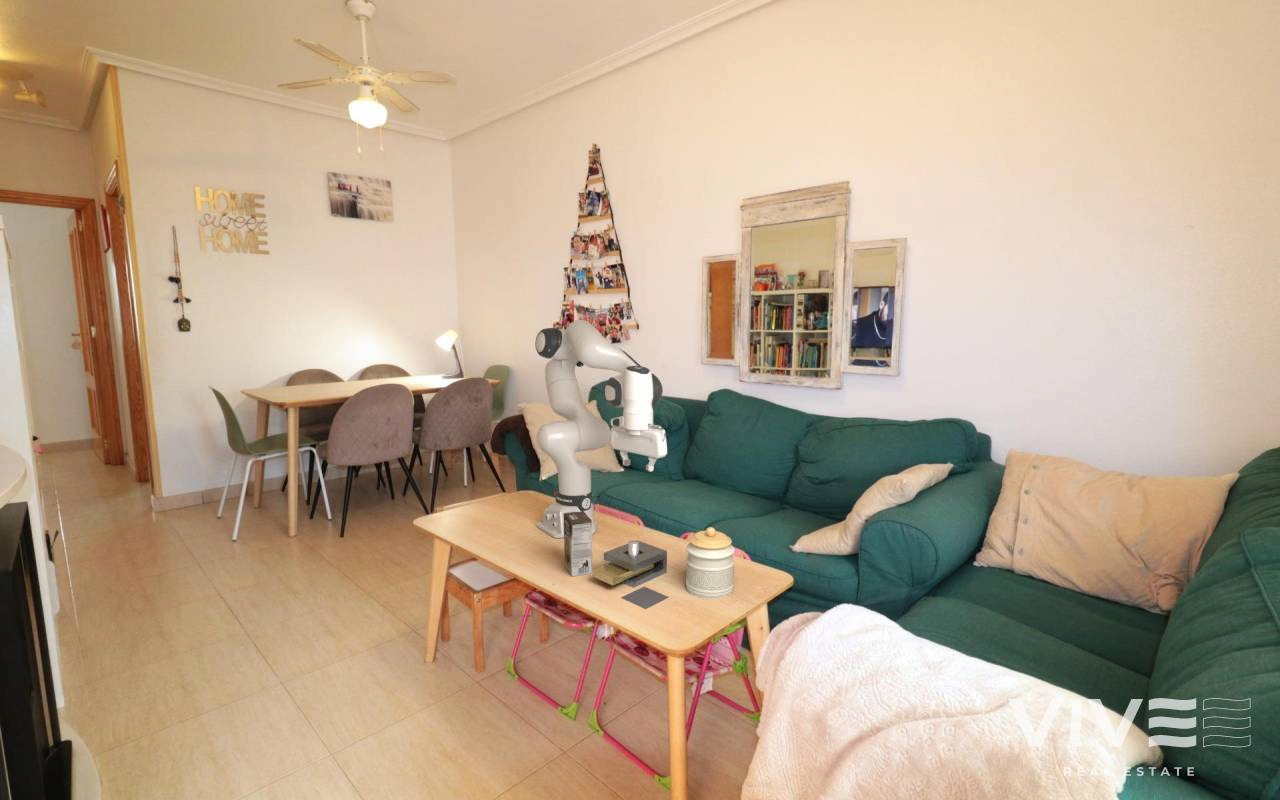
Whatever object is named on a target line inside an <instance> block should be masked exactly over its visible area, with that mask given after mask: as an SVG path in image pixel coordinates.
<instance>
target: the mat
mask: <svg viewBox="0 0 1280 800" xmlns="http://www.w3.org/2000/svg"><path fill="white" fill-rule="evenodd" d="M620 598H621V599H622V600H625V601H626V602H629V603H631V604H633V605H636V606H638V607H640V608H642V609H644V610H647V609H649V608H651V607H653V606H655V605H657V604H659V603H662V602H663V601H664V600H666V599H669V598H670V597H669V596H668V595H665V594H662V593H661V592H658V591H656V590H654V589H651V588H649V587H646V586H642V587H640V588H638V589H635V590H633V591H632V592H630V593H627V594H625V595H624V596H620Z"/></svg>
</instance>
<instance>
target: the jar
mask: <svg viewBox="0 0 1280 800" xmlns="http://www.w3.org/2000/svg"><path fill="white" fill-rule="evenodd" d="M732 543H733V541H732V538H731V537H729V536H728V535H726V534H725V533H723V532H720V531H718V530H716V529H715V528H714V527H712V526H709V527H707V528H706V529H705V530H700V531H697V532H696V533H695V534H693V535H691V536H690V537H689V543H687V544H686V546H685V549H686V552H687V557H686V559H685V562H686V579H685V587H686V590H687V592H688V594H690V595H692V596H695V597H697V598H700V599H703V600H704V599H705V600H720V599H719V598H721V599H724V598H723V597H725V598H727V597H729V596H731V595H732V594H733V592H734V588H735V582H734V581H735V580H734V574H735V573H734V572H735V569H734V567H735V558H734V557H733V555H734V554H735V550H736V549H735V547H734V545H732ZM732 591H733V592H732ZM731 593H732V594H731ZM730 594H731V595H730ZM728 595H729V596H728ZM726 596H727V597H726Z"/></svg>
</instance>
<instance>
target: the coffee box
mask: <svg viewBox="0 0 1280 800" xmlns="http://www.w3.org/2000/svg"><path fill="white" fill-rule="evenodd" d="M563 539H564V541H563V546H564V548H563V549H564V550H563V551H564V565H565V567H566V569H567V571H568V573H569V575H570V576H571V577H578V576H586V575H593V534H592V520H591V519H590V518H589V517H588V516H587V515H586V513H585V512H584V511H582V512H570V513H564V537H563Z"/></svg>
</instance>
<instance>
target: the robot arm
mask: <svg viewBox="0 0 1280 800" xmlns="http://www.w3.org/2000/svg"><path fill="white" fill-rule="evenodd" d="M534 342H535V344H534V345H535V350H536V352H537V354H538V356H540V357H542V358H545V359H549V360H548V362H547V363H546V365H545V369H544V379H545V385H546V386H545V387H546V391H547V396H548V399H549V404H550V405H549V406H550V408H551V410H552V411H553V412H554V413H555V415H557V416H561V417H563V418H564V419H566V420H557V421H551V422H548V423H544V424H542V425H540V427H539V428H538V430H537V433H536V443H537V446H538V448H539V449H540V450H541V452H543V453H544V454H546V455H547V456H548V457H549V458H550V459H551V460H552V461H553V463H554V465H555V468H556V470H557V478H558V491H554V492H553V493H554V495H553V496H556V497H555V500H554V501H553V502H552V503H551V504H550V505H549V506H547V507H546V508H545V509H544V511H543V517H542V518H543V519H541V520H539V521H538V522H537V523H536V527H537V528H539V529H540V530H542V531H543V532H545V533H546V534H548V535H549V536H551V537H552V538H554V539H560V538H563V539H564V513H570V512H582V511H584V512H585V513H586V515H587V516H588V517H589V518H590V519H591V520H592V535H593V534H595V533H596V532H597V526H598V522H597V521H596V518H595V507H594V504H593V497H594V495H593V490H592V471H591V469H590V467H589V466H588V464H586V463H584V462H582V461H580V460H577V459H576V456H575V454H576V453H581V452H588V451H595V450H598V449H601V448H602V449H603V448H605V447H607V445H608V444H609V442H610V446H611V449H613V450H617V451H619V455H620V456H621V459H622V465H623V466H626V467H629V466H630V465H631V462H632V461H631V459H629V455H628V453H631V454H636V455H641V456H644V457H648V458H647V459H648V460H649V462H648V464H645V471H647V472H649V473H650V472H654V469H655V468H654V467H655V466H654V465H655V464H656V462H657V460H658V459H662V458H665V457H666V455H668V446H667V444H668V443H667V437H666V431H665V429H664V428H663V427H662V425H659V424H658V425H657V424H654V409H653V407H654V406H655V405H656V404H657V403H658V402H659V401H660V400H661V398H662V396H663V392H664V391H663V384H662V383H661V380H660V379H659V377H657V375H656V374H654V373H653V372H652V371H651V370H650V369H649V368H648V367H645V366H642V365H640V364H639V363H638V362H637V360H635V359H634V358H633V357H632V356H631V355H629V353H627V352H626V351H625V350H623V349H622V348H619V347H618V346H616V345H615V344H613V343H611V342H610V341H609V340H608V339H607V338H605V337H604V336H603V335H602V333H601V332H600V331H599V330H598V329H597V328H596V327H595V326H594V325H592V323H590V322H589V321H587V320H584V319H576V320H574V321H573V322H571V323H570V324H569V325H568V326H567V328H566V329H564V328H557V327H548V328H547V327H546V328H542V329H541V330H540V331H539V332H538V333H537V335H536V338H535V341H534ZM550 359H551V360H550ZM584 366H585V367H588V368H590V369H597V370H608V371H613V372H616V373H620V374H618V375H615V376H612V377H609V378H608V379H607V381H606V382H605V384H604V388H603V395H604V400H605V401H606V403H607V404H608V405H609V406H610V407H612V408H623V411H622V415H621V416H618V417H613V418H611V419H610V426H611V427H610V426H609V424H608V422H606V421H605V420H604V419H602V418H600V417H598V416H597V415H595V413H593V412H592V411H591V410H590V409H589V408H588V406H587V405H586V403H585V402H584V400H583V397H582V393H581V391H580V387H579V382H578V379H577V377H576V371H575V369H576V367H578V368H580V367H581V368H582V367H584Z"/></svg>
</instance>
